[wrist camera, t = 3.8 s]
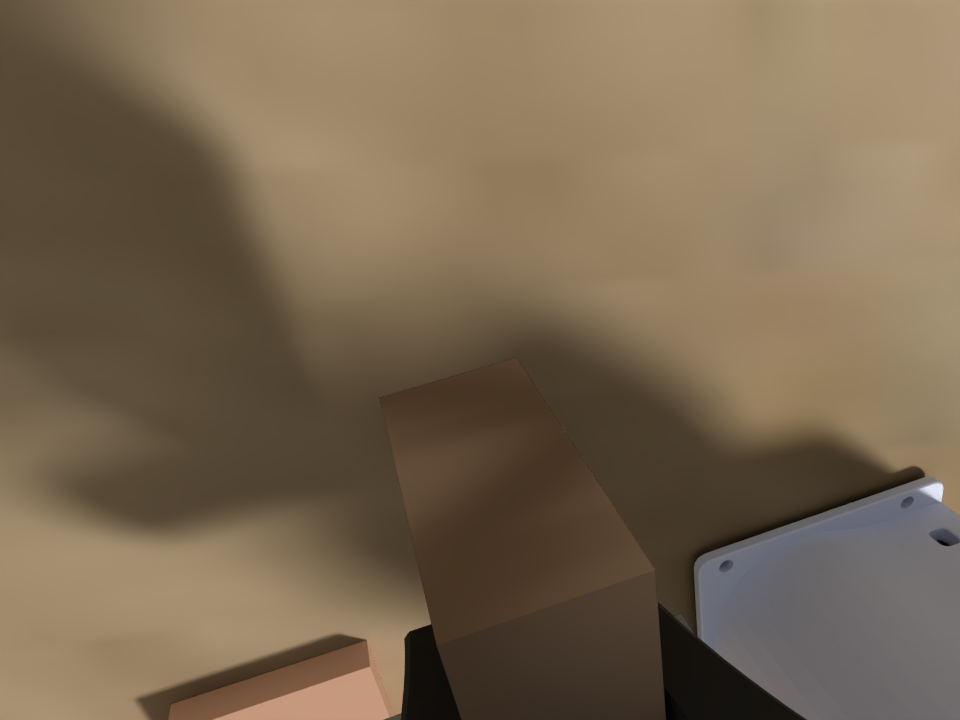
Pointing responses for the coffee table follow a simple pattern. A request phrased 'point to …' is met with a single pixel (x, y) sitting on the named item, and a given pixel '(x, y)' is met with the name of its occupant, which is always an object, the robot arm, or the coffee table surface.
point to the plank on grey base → (522, 556)
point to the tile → (300, 692)
